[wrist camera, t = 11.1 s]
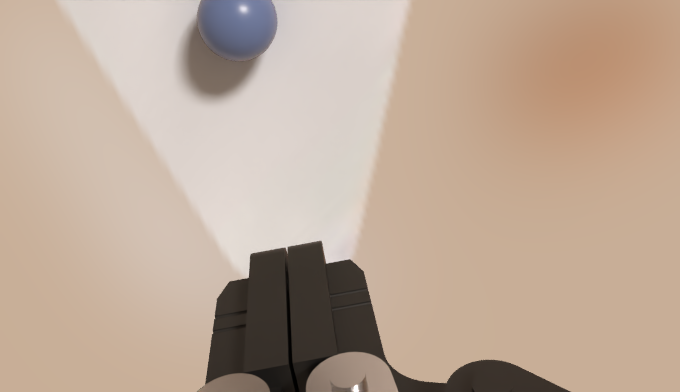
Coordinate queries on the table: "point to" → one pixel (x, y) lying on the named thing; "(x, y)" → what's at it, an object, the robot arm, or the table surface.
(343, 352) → the robot arm
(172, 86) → the table surface
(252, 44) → the blue ball
